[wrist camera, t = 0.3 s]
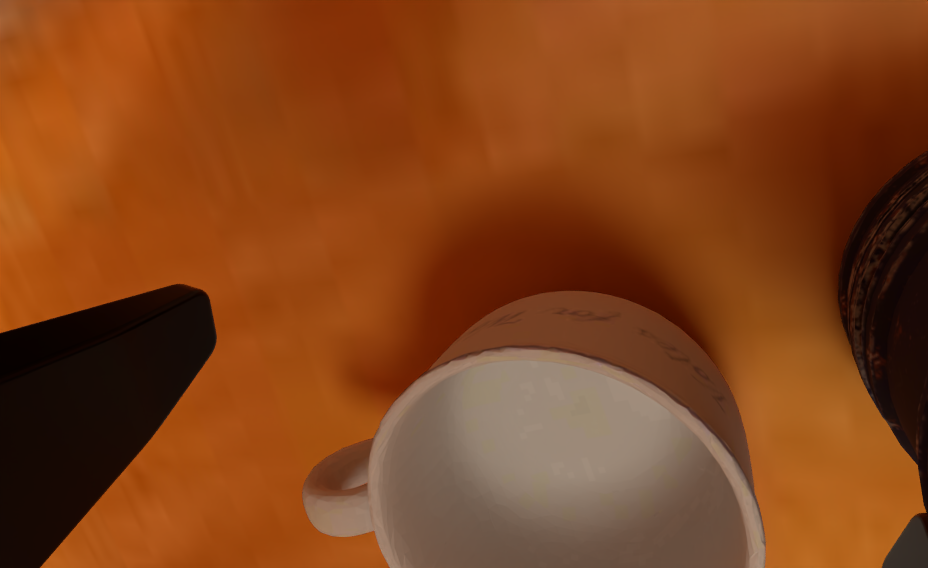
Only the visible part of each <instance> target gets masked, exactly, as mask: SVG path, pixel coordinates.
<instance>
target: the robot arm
mask: <svg viewBox="0 0 928 568" xmlns="http://www.w3.org/2000/svg"><path fill="white" fill-rule="evenodd" d="M216 339H217V335H216V329H215V324H214V319H213V314H212V309H211V304H210V299H209V297H208V295H207V294H206V292H204V291H203V290H201V289H197V288H194V287H191V286H188V285H184V284H175V285H171V286H167V287H164V288H160V289H157V290H153V291H149V292H146V293H142V294H139V295H135V296H132V297H128V298H124V299H121V300H117V301H114V302H110V303H107V304H103V305H99V306H96V307H92V308H89V309H85V310H82V311H78V312H74V313H71V314H67V315H64V316H60V317H56V318H53V319H49V320H46V321H42V322H39V323H35V324H31V325H28V326H24V327H21V328H17V329H14V330H10V331H6V332H3V333H0V568H40V567H41V566H42V565H43V564H44V562H45V561H46V560H47V559H48V558H49V557H50V556H51V554H52V553H53V552H54V551H55V550H56V549H57V547H58V546H59V545H60V544H61V543H62V542H63V540H64V539H65V538H66V537H67V536H68V535H69V533H70V532H71V531H72V530H73V529H74V528H75V527H76V525H77V524H78V523H79V522H80V521H81V520H82V518H83V517H84V516H85V515H86V514H87V513H88V511H89V510H90V509H91V508H92V507H93V506H94V505H95V503H96V502H97V501H98V500H99V499H100V498H101V496H102V495H103V494H104V493H105V492H106V491H107V489H108V488H109V487H110V486H111V485H112V484H113V483H114V481H115V480H116V479H117V478H118V477H119V476H120V474H121V473H122V472H123V471H124V470H125V469H126V467H127V466H128V465H129V464H130V463H131V462H132V460H133V459H134V458H135V457H136V456H137V455H138V454H139V452H140V451H141V450H142V449H143V448H144V446H145V445H146V444H147V443H148V442H149V440H150V439H151V438H152V437H153V435H154V434H155V433H156V431H157V430H158V429H159V427H160V426H161V425H162V423H163V422H164V420H165V419H166V418H167V416H168V415H169V413H170V412H171V411H172V409H173V408H174V406H175V405H176V404H177V402H178V401H179V399H180V398H181V396H182V395H183V394H184V392H185V391H186V389H187V388H188V387H189V385H190V384H191V382H192V381H193V379H194V378H195V377H196V375H197V374H198V372H199V371H200V370H201V368H202V367H203V365H204V364H205V362H206V361H207V360H208V358H209V357H210V355H211V354H212V352H213V350H214V348H215V345H216ZM882 568H928V513H919V514H917V515H915V516H914V517H913V518H912V519H911V520H910V522H909V523H908V525H907V526H906V528H905V529H904V531H903V532H902V534H901V535H900V537H899V538H898V540H897V541H896V543H895V544H894V546H893V547H892V549H891V550H890V552H889V553H888V555H887V556H886V558H885V560H884V563H883V566H882Z"/></svg>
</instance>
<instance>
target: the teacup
mask: <svg viewBox="0 0 928 568" xmlns="http://www.w3.org/2000/svg"><path fill="white" fill-rule="evenodd" d="M367 482H368V483H367ZM365 483H366V484H365ZM360 485H361V486H360ZM302 496H303V504H304V507H305V510H306V513H307V515H308V518H309V520H310V521H311V523H312V524H313V525H314V526H315V528H317V529H318V530H319V531H320V532H321V533H324V534H328V535H331V536H338V537H350V536H355V535H360V534H364V533H368V532H371V531H375V534H376V538H377V541H378V544H379V547H380V549H381V552H382V554H383V555H384V557H385V559H386V561H387V563H388V565H389V567H390V568H765V533H764V528H763V522H762V517H761V513H760V508H759V505H758V502H757V499H756V496H755V493H754V483H753V476H752V469H751V462H750V455H749V450H748V445H747V439H746V435H745V430H744V427H743V423H742V420H741V416H740V413H739V410H738V407H737V404H736V402H735V399H734V397H733V395H732V393H731V390H730V388H729V386H728V385H727V383H726V381H725V380H724V378H723V376H722V375H721V373H720V371H719V370H718V368H717V366H716V365H715V364H714V363H713V361H712V360H711V359H710V357H709V356H708V355H707V354H706V352H705V351H704V350H703V349H702V348H701V347H700V346H699V345H698V344H697V343H696V342H695V341H694V340H693V339H692V338H691V337H689V336H688V335H687V334H686V333H685V332H684V331H683V330H682V329H680V328H679V327H678V326H676V325H675V324H673V323H672V322H670V321H669V320H667V319H666V318H664V317H663V316H661V315H660V314H658V313H656V312H654V311H652V310H650V309H648V308H646V307H643V306H641V305H639V304H636V303H634V302H631V301H629V300H626V299H623V298H619V297H615V296H612V295H607V294H602V293H596V292H587V291H557V292H548V293H541V294H537V295H533V296H529V297H525V298H522V299H519V300H516V301H513V302H511V303H509V304H507V305H504V306H502V307H500V308H498V309H496V310H494V311H493V312H491V313H490V314H488V315H486V316H485V317H483V318H482V319H481V320H479V321H478V322H477V323H475V324H474V325H473V326H471V327H470V328H469V329H468V330H467V331H466V332H464V333H463V334H462V335H461V336H460V337H459V338H458V339H457V340H456V341H454V342H453V344H452V345H451V346H450V347H449V348H448V349H447V350H446V351H445V352H444V353H443V354H442V355H441V356H440V357H439V358H438V359H437V361H436V362H435V363H434V364H433V365H432V366H431V367H430V368H429V370H428V371H426V372H424V373H423V374H422V375H421V376H420V377H419V378H418V379H417V380H415V381H414V382H413V383H412V384H411V385H410V386H409V387H408V388H407V389H406V390H405V391H403V392H402V393H401V394H400V396H399V397H398V398H397V399H396V400H395V401H394V403H393V404H392V405H391V407H390V408H389V410H388V411H387V413H386V414H385V416H384V418H383V419H382V421H381V423H380V426H379V428H378V430H377V432H376V434H375V436H374V438H372V439H368V440H365V441H362V442H359V443H356V444H353V445H351V446H348V447H345V448H343V449H341V450H339V451H337V452H335V453H333V454H332V455H330V456H328V457H326V458H325V459H324V460H322V461H321V462H320V463H319V464H317V465H316V466H315V467H314V468H313V469H312V471H311V472H310V474H309V475H308V477H307V478H306V480H305V483H304V485H303V492H302Z"/></svg>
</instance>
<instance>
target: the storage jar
mask: <svg viewBox="0 0 928 568" xmlns="http://www.w3.org/2000/svg"><path fill="white" fill-rule="evenodd" d="M838 301H839V307H840V313H841V319H842V323H843V326H844V329H845V332H846V334H847V337H848V340H849V343H850V345H851V348H852V354H853V356H854V359H855V362H856V364H857V367H858V370H859V373H860V375H861V378H862V380H863V382H864V384H865V387H866V388H867V391H868V393H869V395H870V396H871V398H872V400H873V401H874V403H875V405H876V407H877V408H878V410H879V412H880V413H881V415H882V417H883V418H884V419H885V420H886V421H887V423H888V425H889V426H890V428H891V430H892V431H893V433H894V435H895V436H896V438H897V440H898V441H899V443H900V445H901V446H902V447H903V448H904V449H905V451H906V452H907V453H908V454H909V455H910V457H911V458H912V459H913V460H914V461H915V462H916V464H917V465H918V470H919V476H920V483H921V489H922V495H923V502H924V506H925V509H926V512H927V513H928V151H926V152H925V153H923V154H922V155H920V156H919V157H917V158H916V159H914V160H913V161H911V162H910V163H908V164H907V165H906V166H905V167H904V168H903V169H901V170H900V171H899V172H898V173H897V174H896V175H895V176H894V177H892V178H891V179H890V180H889V181H888V182H887V183H886V184H885V185H884V186H883V187H882V188H881V190H880V191H879V192H878V193H877V194H876V195H875V197H874V198H873V199H872V200H871V201H870V203H869V204H868V205H867V206H866V208H865V210H864V211H863V213H862V215H861V216H860V218H859V220H858V221H857V223H856V225H855V226H854V228H853V230H852V232H851V235H850V238H849V240H848V243H847V245H846V248H845V250H844V253H843V258H842V263H841V267H840V272H839V287H838Z"/></svg>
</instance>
